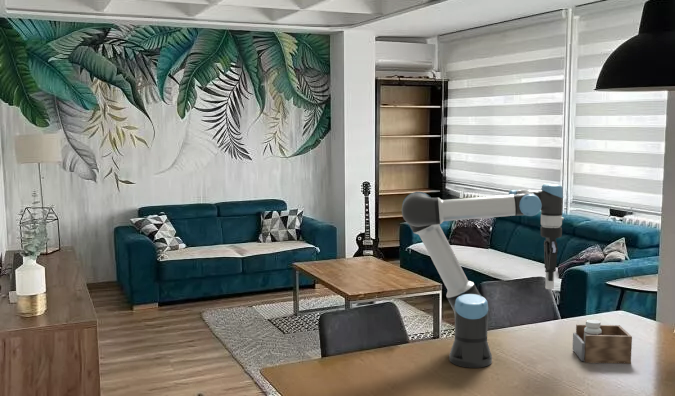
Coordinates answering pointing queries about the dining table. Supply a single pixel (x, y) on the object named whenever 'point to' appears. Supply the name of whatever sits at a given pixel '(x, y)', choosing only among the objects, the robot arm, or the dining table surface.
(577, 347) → the tray
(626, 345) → the wooden box
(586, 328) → the pill bottle
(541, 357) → the dining table surface
